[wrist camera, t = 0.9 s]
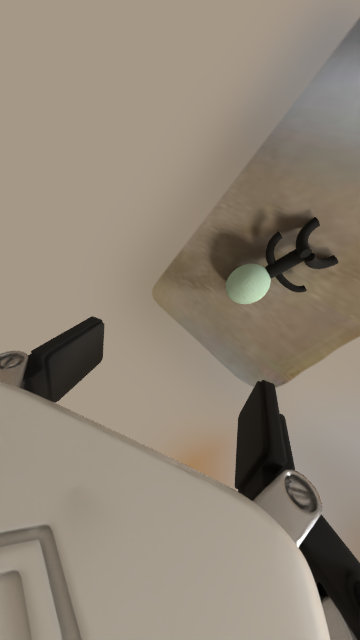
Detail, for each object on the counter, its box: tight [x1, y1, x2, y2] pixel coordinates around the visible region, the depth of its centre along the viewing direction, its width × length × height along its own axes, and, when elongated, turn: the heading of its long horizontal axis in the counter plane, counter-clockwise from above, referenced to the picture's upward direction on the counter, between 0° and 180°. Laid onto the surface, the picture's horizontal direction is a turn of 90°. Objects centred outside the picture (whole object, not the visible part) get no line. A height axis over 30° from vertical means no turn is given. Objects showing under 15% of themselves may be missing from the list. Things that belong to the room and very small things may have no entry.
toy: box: [226, 217, 338, 304], centre depth 30 cm, size 10×6×15 cm
